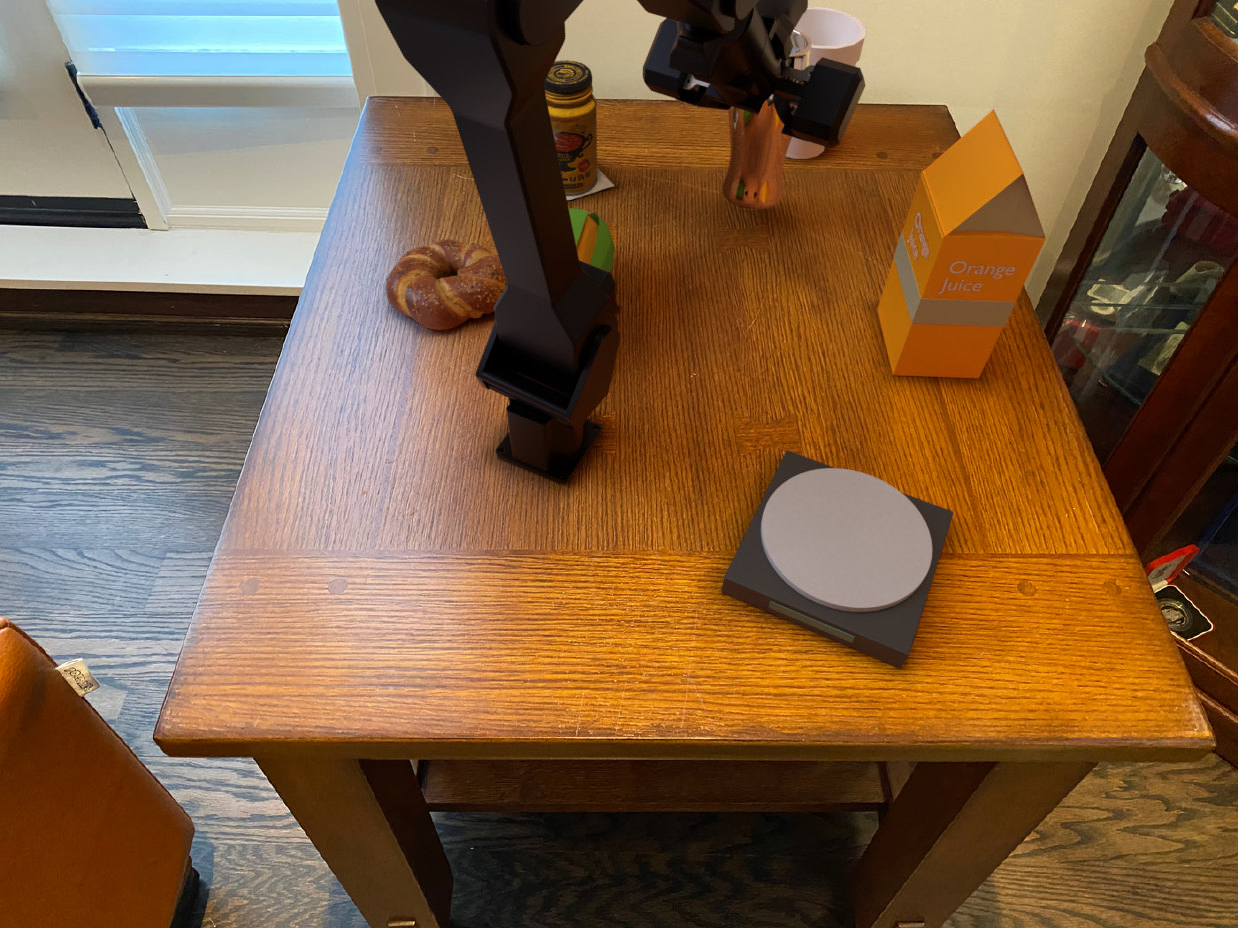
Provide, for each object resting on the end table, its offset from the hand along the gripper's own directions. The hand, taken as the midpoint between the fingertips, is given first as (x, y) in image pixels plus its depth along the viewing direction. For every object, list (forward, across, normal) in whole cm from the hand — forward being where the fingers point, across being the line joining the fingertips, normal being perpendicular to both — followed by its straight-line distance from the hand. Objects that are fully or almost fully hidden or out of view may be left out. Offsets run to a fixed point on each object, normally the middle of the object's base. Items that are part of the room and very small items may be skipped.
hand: (768, 115), depth 82 cm
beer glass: (+4, 0, +6) cm, 8 cm away
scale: (-17, -24, +33) cm, 44 cm away
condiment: (+4, +20, +11) cm, 23 cm away
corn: (-9, +7, +25) cm, 28 cm away
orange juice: (+1, -22, +14) cm, 26 cm away
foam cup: (+18, +1, -3) cm, 18 cm away
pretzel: (-12, +18, +27) cm, 34 cm away
